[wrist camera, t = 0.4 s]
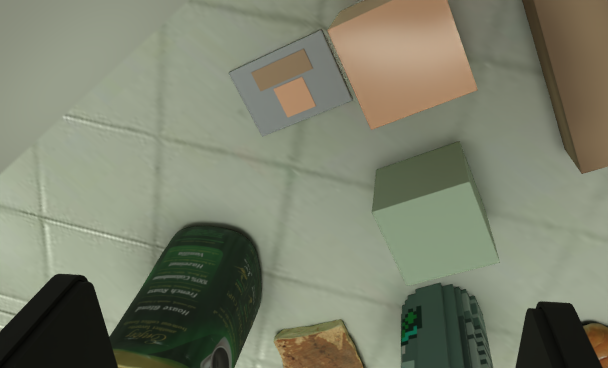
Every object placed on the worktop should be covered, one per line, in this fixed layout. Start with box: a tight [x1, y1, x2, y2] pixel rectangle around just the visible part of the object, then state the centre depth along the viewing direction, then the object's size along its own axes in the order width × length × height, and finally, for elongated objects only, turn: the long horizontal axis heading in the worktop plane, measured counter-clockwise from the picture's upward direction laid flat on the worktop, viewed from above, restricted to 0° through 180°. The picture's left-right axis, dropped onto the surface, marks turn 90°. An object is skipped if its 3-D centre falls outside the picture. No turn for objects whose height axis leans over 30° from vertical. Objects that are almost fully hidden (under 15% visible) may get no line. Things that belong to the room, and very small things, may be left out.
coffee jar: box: [109, 226, 261, 368], centre depth 35 cm, size 10×8×19 cm
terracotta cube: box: [327, 0, 478, 130], centre depth 29 cm, size 6×6×6 cm
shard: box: [274, 319, 363, 368], centre depth 46 cm, size 11×8×2 cm
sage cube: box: [372, 141, 500, 286], centre depth 33 cm, size 6×6×6 cm
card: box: [229, 29, 352, 136], centre depth 34 cm, size 7×5×1 cm
